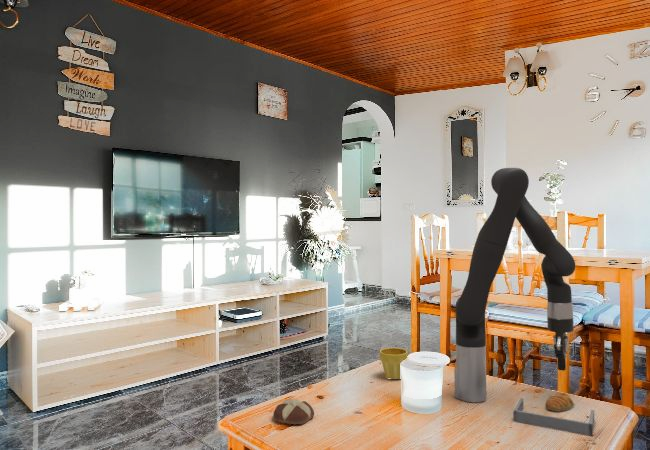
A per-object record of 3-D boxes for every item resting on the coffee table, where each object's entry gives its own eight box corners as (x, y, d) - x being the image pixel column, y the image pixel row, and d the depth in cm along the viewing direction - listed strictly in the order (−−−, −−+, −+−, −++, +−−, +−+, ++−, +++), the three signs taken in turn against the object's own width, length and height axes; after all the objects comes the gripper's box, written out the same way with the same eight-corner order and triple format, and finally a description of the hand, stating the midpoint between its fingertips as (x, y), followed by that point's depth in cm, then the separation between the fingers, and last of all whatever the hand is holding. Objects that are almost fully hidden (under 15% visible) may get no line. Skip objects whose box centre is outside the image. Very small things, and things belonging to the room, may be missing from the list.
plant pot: (374, 378, 178) (374, 351, 178) (389, 371, 186) (389, 345, 186) (398, 384, 171) (398, 356, 171) (413, 376, 179) (413, 350, 179)
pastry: (562, 415, 142) (562, 402, 142) (539, 409, 147) (539, 396, 147) (575, 407, 148) (575, 394, 148) (553, 401, 153) (553, 389, 153)
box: (513, 421, 138) (513, 410, 138) (520, 408, 148) (520, 398, 148) (592, 436, 128) (592, 424, 128) (594, 420, 137) (594, 410, 137)
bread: (290, 409, 150) (289, 392, 150) (319, 417, 144) (319, 400, 144) (265, 421, 141) (265, 404, 141) (296, 430, 135) (295, 412, 135)
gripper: (550, 311, 164) (552, 363, 164) (544, 318, 153) (546, 373, 153) (575, 313, 160) (577, 365, 160) (570, 320, 149) (572, 377, 149)
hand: (561, 369), depth 156 cm, fingers closed
